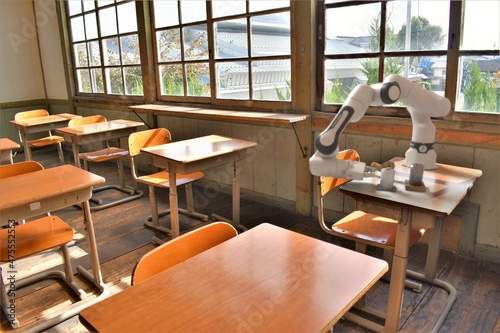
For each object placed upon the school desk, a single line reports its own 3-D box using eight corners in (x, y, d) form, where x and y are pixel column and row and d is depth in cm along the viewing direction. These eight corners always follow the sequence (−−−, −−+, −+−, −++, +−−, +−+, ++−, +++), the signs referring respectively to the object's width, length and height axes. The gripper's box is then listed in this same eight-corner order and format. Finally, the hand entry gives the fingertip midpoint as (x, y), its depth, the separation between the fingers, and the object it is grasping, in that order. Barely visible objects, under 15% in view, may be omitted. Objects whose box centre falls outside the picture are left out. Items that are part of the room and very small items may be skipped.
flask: (408, 182, 174) (410, 163, 172) (421, 183, 172) (423, 164, 170) (408, 185, 169) (411, 165, 167) (422, 186, 167) (424, 167, 165)
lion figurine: (395, 178, 187) (397, 160, 184) (390, 180, 183) (392, 162, 181) (367, 172, 196) (369, 155, 194) (362, 174, 193) (364, 157, 190)
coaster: (377, 184, 176) (377, 183, 176) (395, 186, 174) (395, 185, 173) (376, 189, 169) (376, 188, 169) (395, 192, 166) (396, 190, 166)
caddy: (404, 183, 178) (405, 175, 177) (423, 185, 176) (424, 177, 175) (405, 190, 169) (406, 181, 168) (425, 192, 167) (426, 183, 166)
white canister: (379, 184, 174) (381, 165, 172) (393, 186, 173) (395, 166, 170) (379, 188, 169) (381, 168, 167) (393, 189, 167) (395, 169, 165)
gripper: (342, 167, 165) (375, 171, 160) (346, 158, 183) (376, 161, 179) (340, 181, 166) (374, 185, 162) (345, 170, 185) (375, 173, 181)
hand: (375, 172), depth 171 cm, fingers open, 8 cm apart
